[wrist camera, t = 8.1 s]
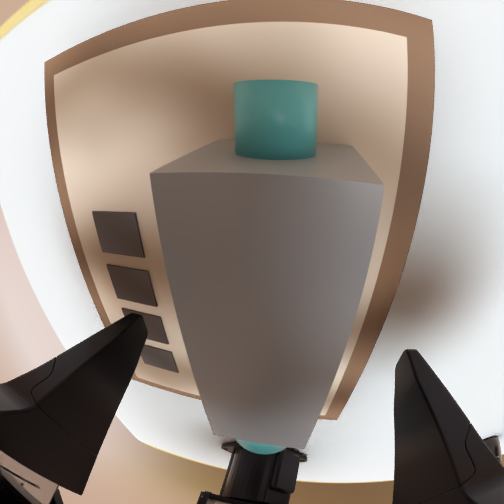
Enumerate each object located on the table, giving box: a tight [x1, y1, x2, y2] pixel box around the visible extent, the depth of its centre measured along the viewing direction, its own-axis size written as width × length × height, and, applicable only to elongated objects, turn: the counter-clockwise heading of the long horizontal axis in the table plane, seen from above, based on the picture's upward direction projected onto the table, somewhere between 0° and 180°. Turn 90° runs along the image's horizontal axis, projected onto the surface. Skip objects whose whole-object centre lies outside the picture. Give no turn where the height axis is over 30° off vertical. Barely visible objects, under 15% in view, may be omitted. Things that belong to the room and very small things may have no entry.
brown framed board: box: [45, 0, 435, 420], centre depth 12 cm, size 21×15×1 cm
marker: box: [149, 80, 385, 454], centre depth 9 cm, size 15×4×4 cm, turn 0°
